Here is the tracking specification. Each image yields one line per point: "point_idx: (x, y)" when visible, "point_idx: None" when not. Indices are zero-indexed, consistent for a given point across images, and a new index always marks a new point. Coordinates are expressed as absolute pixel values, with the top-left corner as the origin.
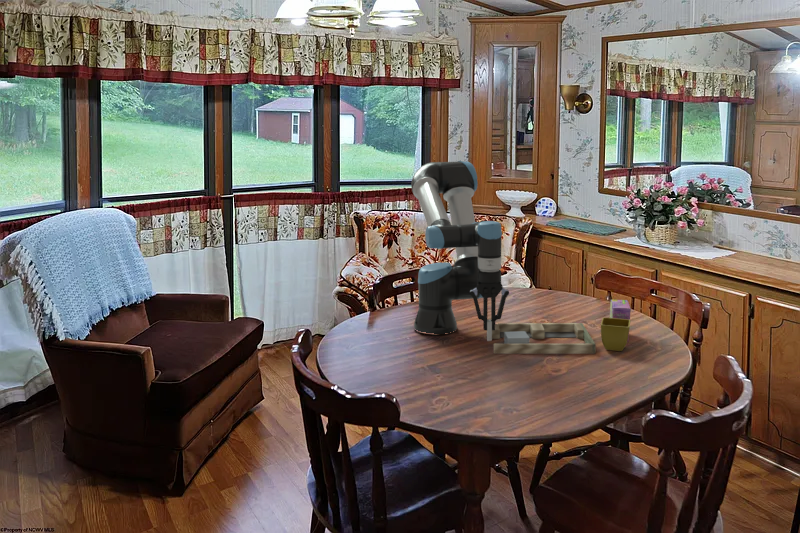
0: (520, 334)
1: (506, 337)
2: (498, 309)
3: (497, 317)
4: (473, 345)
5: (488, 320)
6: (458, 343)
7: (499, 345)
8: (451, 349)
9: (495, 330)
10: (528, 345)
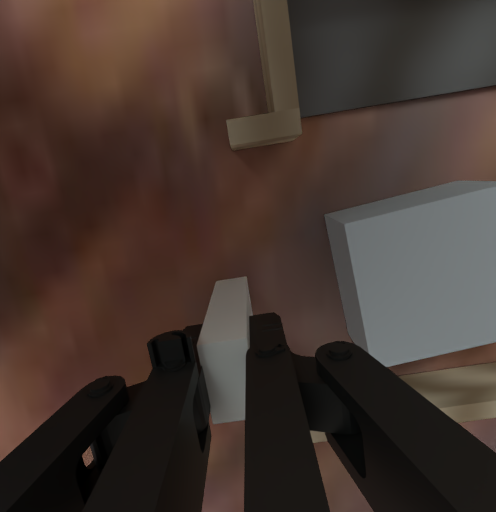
0: (467, 273)
1: (357, 310)
2: (369, 442)
3: (329, 436)
4: (143, 298)
5: (220, 379)
6: (46, 275)
7: (312, 438)
8: (37, 380)
9: (267, 138)
10: (489, 412)
